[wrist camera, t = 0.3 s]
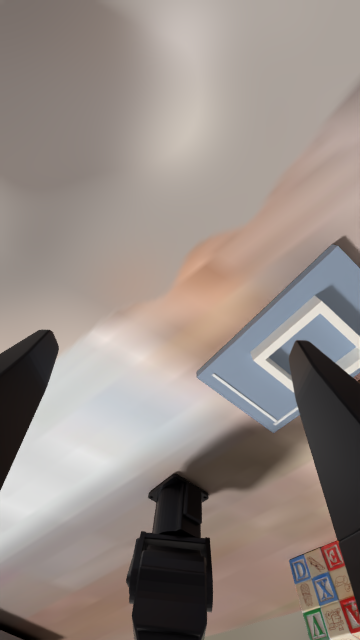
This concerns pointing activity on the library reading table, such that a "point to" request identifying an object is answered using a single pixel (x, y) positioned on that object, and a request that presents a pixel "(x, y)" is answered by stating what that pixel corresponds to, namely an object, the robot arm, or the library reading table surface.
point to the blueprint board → (290, 340)
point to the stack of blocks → (326, 594)
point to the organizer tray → (7, 636)
